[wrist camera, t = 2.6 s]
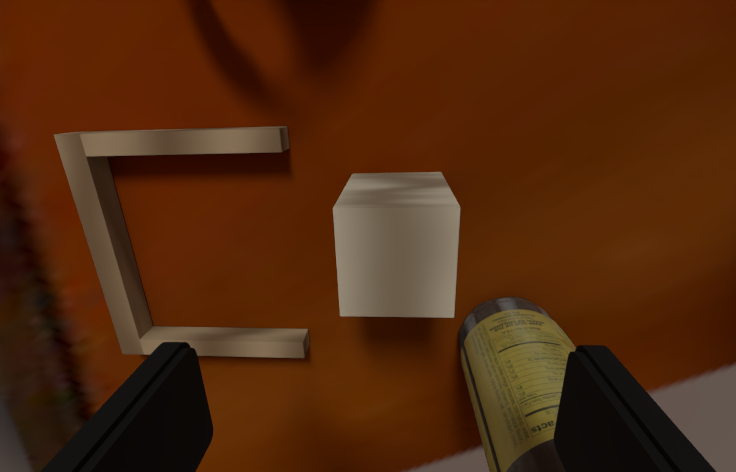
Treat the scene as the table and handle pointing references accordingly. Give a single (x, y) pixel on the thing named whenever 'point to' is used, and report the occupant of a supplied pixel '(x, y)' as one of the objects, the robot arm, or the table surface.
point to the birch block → (397, 245)
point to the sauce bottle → (515, 382)
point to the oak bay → (113, 246)
